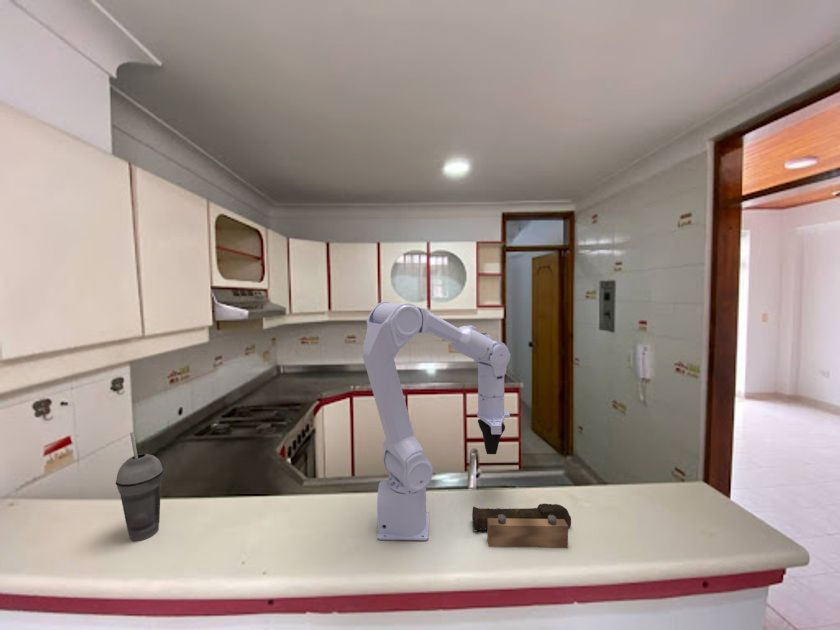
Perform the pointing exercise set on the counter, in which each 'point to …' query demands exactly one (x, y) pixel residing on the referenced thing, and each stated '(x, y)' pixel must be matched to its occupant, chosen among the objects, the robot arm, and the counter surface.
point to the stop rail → (527, 532)
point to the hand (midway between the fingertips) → (491, 452)
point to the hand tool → (519, 514)
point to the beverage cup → (140, 493)
